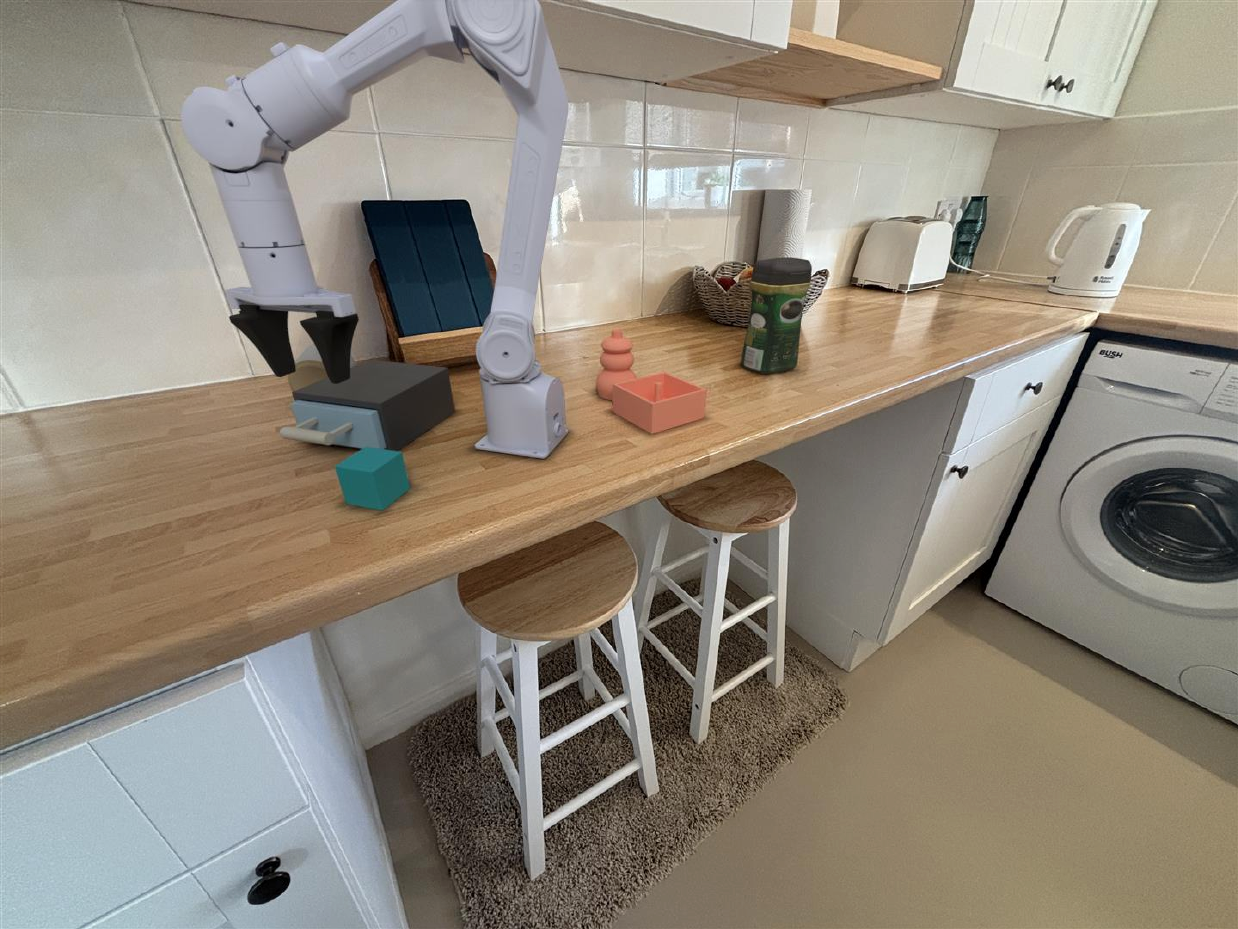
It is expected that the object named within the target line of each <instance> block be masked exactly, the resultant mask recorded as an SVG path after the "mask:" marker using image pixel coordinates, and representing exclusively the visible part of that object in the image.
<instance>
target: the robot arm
mask: <svg viewBox="0 0 1238 929" xmlns="http://www.w3.org/2000/svg"><path fill="white" fill-rule="evenodd" d="M544 16H545V15H544V12H543V8H542V6H541V4H540V2H539V1H538V0H396V1H394V2H392V3H391V4H390V5H388V6H387V7H386V8H384V9H383V10H382V11H380V12H379V13H377V14H376V15H375V16H373V17H372V18H370V19H369V20H367V21H366V22H365V23H363V24H362V25H360V26H359V27H358V28H356V29H354V30H353V31H352V32H351V33H349V34H347V35H346V36H344V37H343V38H341V39H340V40H339V41H338V42H336V43H335V44H333V45H332V46H331V47H329V48H327V49H326V50H325V51H319V50H316V49H314V48H312V47H309V46H307V45H305V44H301V43H297V44H295V45H294V46H292V47H290V46H289V45H287V44H285V43H284V42H278V43H277V44H275V45H273V46H272V47H270V49H269V50H270V53H271V54H272V56H273V57H274V58H272V59H271V60H269V61H267V62H266V63H264V64H263V65H261V66H259V67H258V68H256V69H255V70H253V71H251V72H250V73H248V74H247V75H245V76H243V77H240V76H238V75H236V74H233V75H230V76H229V77H227V78H226V79H225V80H224V81H225V83H226V85H227V88H226V89H227V90H223V89H219V88H216V87H211V86H199V87H195V88H194V89H193V91H192V93H191V94H190V95H189V96H188V97H187V98H185V100H184V101H183V103H182V106H181V109H180V124H181V128H182V132H183V134H184V136H185V139H186V140H187V142H188V143H189V145H190V146H191V148H192V149H193V150H194V151H195V152H196V153H197V154H198V155H199V157H201V158H202V159H203V160H205V161H206V162H208V166H209V169H210V171H211V174H212V177H213V179H214V180H213V181H214V183H215V186H216V188H217V191H218V195H219V198H220V201H221V203H222V206H223V209H224V213H225V215H226V218H227V221H228V224H229V227H230V230H231V233H232V236H233V239H234V241H235V244H236V247H237V250H238V253H239V256H240V260H241V262H242V264H243V267H244V270H245V273H246V276H247V279H248V282H249V286H250V287H249V286H239V287H233V288H229V289H224V294H225V296H226V298H227V302H228V304H229V308H230V309H232V310H233V309H234V310H238V313H236V314H231V315H229V316H228V318H229V322H230V324H232V325H233V326H234V327H235V328H237V329H238V330H239V331H240V332H241V333H242V334H243V335H244V336H246V338H247V339H248V340H249V341H250V343H251V344H252V345H254V347H255V348H256V349H257V350H258V352H259V353H260V355H261V356H262V357H263V359H264V360H265V362H266V363H267V365H268V366H269V368H270V369H271V371H272V372H273V374H274V375H275V376H276V378H283V377H285V376H288V375H289V374H291V373H294V372H296V368H295V361H296V360H295V357H294V353H293V349H292V344H291V341H290V335H289V333H290V332H289V312H293V313H306V314H315V315H316V316H313V317H309V318H306V319H302V320H299V323H300V326H301V327H302V328H303V330H304V331H305V333H306V334H307V335H308V336H309V338H310V339H311V341H312V344H315V346H316V348H317V350H318V352H319V354H320V356H321V359H322V362H323V365H324V368H325V370H326V373H327V375H328V377H329V379H330V381H331V383H333V384H339V383H341V382H343V381H345V380H348V379H350V355H351V356H352V354H351V352H352V345H353V344H352V343H353V339H354V336H355V331H356V329H357V326H358V323H359V321H360V320H359V315H358V313H357V311H356V306H355V302H354V297H353V294H352V293H343V292H336V291H332V290H328V289H324V286H323V285H318V284H317V281H316V277H315V274H314V270H313V267H312V263H311V258H310V255H309V252H308V249H307V244H306V241H305V238H304V235H303V231H302V228H301V225H300V221H299V220H300V219H299V216H298V213H297V210H296V206H295V202H294V199H293V195H292V192H291V190H290V187H289V182H288V179H287V176H286V172H285V166H286V164H287V161H288V159H289V155H290V152H291V153H293V152H295V151H297V150H298V149H300V148H302V147H304V146H305V145H307V144H308V143H310V142H312V141H314V140H315V139H317V138H319V137H320V136H322V135H324V134H326V133H327V132H329V131H330V130H332V129H334V128H336V127H337V126H339V125H341V124H342V123H344V122H346V121H348V120H349V119H350V116H351V111H352V110H351V109H352V102H353V98H354V95H356V94H358V93H360V92H361V91H363V90H367V88H370V87H371V86H373V85H375V84H377V83H378V82H381V81H383V80H385V79H387V78H389V77H391V76H392V75H395V74H397V73H398V72H400V71H402V70H404V69H406V68H409V67H410V66H412V65H414V64H416V63H418V62H420V61H421V60H424V59H426V58H428V57H434V58H439V59H442V60H446V61H451V62H455V63H458V64H464V65H465V64H466V61H465V57H464V52H463V49H464V50H465V49H467V51H468V52H469V55H470V56H471V57H472V59H473V60H474V61H475V63H476V64H477V65H478V66H479V68H481V69H482V70H483V71H485V73H486V74H487V75H489V76H490V77H491V78H492V79H493V80H494V81H495V82H496V83H497V84H498V85H499V86H500V88H501V90H502V92H503V93H504V95H505V97H506V98H507V100H508V102H509V103H510V105H511V107H512V108H513V110H514V112H515V113H516V115H517V124H516V131H515V139H514V145H513V153H512V159H511V160H512V161H511V168H510V174H509V181H508V188H507V189H508V190H507V196H506V203H505V211H504V218H503V225H502V233H501V240H500V246H499V254H498V262H497V269H496V277H495V283H494V288H493V295H492V301H491V307H490V313H489V314H488V316H487V317H486V319H485V320H484V322H483V325H482V329H481V334H480V336H479V337H478V339H477V342H476V346H475V356H476V361H477V363H478V365H479V367H480V369H478V374H479V379H480V380H479V382H480V388H481V395H482V402H483V403H482V404H483V410H484V417H485V426H486V432H487V434H486V435H484V436H483V437H482V438H481V439H480V440H479V441H477V442H476V443H475V444H474V448H475V450H480V451H488V452H495V453H502V454H508V455H515V456H521V457H527V458H528V457H529V458H536V459H546V458H547V457H549V455H550V454H551V453H553V452H552V451H554V449H555V448H556V447H557V446H558V445H559V444H560V443H561V441H562V440H563V439H564V438H565V437H566V436H567V434H569V429H568V428H567V420H566V419H567V418H566V402H565V400H566V398H565V389H564V385H563V382H562V380H561V378H559V377H556V376H551V375H549V374H547V373H545V372H543V370H542V366H541V363H539V362H538V361H537V360H536V352H537V351H536V347H535V339H536V331H535V327H534V324H533V321H534V316H535V308H536V299H537V292H538V286H539V280H540V277H541V276H540V275H541V269H542V264H543V258H544V253H545V247H546V241H547V235H548V230H549V223H550V218H551V213H552V208H553V201H554V195H555V190H556V184H557V178H558V173H559V167H560V162H561V155H562V149H563V144H564V140H565V139H564V138H565V133H566V128H567V121H568V115H569V97H568V93H567V91H566V87H565V85H564V81H563V78H562V75H561V71H560V69H559V68H560V67H559V65H558V62H557V58H556V55H555V52H554V48H553V46H552V42H551V39H550V36H549V32H548V28H547V24H546V21H545V17H544Z"/></svg>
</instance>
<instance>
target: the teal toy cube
mask: <svg viewBox="0 0 1238 929" xmlns="http://www.w3.org/2000/svg"><path fill="white" fill-rule="evenodd" d="M334 469H335V470H334V471H335V473H336V476H337V479H338V482H339V485H340V488H341V491H342V494H343V498H344V501H345V504H346V505H352V506H355V507H360V508H367V509H371V510H378V511H384V510H386V509H387V508H388V507H389V506H391V505H392V504H393V503H394V502H395V501H396V500H398V499H399V498H401V497H402V496H403V495H405V493H406V492H408V491H409V490H411V484H410V481H409V476H408V472H407V467H406V463H405V458H404V454H403V452H402V451H399V450H398V451H391V450H385V449H378V448H372V447H365V448H363V449H359V450H358V451H356V452H355V453H353V454H352V455H350V456H348V457H347V458H345V459H343V460H342V461H340V462H339V463H337V464H335V465H334Z"/></svg>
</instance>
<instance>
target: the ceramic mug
mask: <svg viewBox="0 0 1238 929" xmlns="http://www.w3.org/2000/svg"><path fill="white" fill-rule="evenodd" d="M294 361H295V368H296V372H294V373H291V374H288V375H287V381H288V386H289V388H290V389H291V392H293V391H296V390H298V389H301V388H303V387H306V386H308V385H310V384H313V383H315V382H318V381H320V380H323V379H325V378H328V375H327V373H326V370H325V368H324V365H323V362H322V359H321V356H320V354H319V352H318V350H317V348H316V346H315V344H314V343H311V344H310V345H308V346H307V347H306V348H305V349H304V350H303V352H302V353H301V354H299V356H298V358H296V360H294ZM354 366H357V362H356V360H355V358H354V357H353V356H352V354H351V355H350V368H352V367H354Z"/></svg>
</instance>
